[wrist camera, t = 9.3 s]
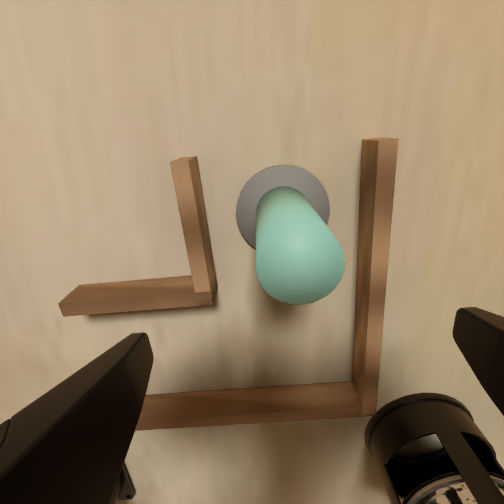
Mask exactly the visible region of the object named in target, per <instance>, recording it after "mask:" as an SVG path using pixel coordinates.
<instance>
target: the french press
mask: <svg viewBox="0 0 504 504" xmlns="http://www.w3.org/2000/svg"><path fill="white" fill-rule="evenodd" d="M432 434H436V435H437V437H438V438H439V440H440V442H441V444H442V445H443V447H444V450H443V451H441V452H439V453H437V454H435V455H432V456H430V457H426V458H421V459H403V458H398V457H395V456H393V454H394V453H395V452H396V451H398V450H399V449H400V448H402V447H403V446H404V445H406V444H408V443H410V442H412V441H413V440H416V439H419V438H421V437H424V436H428V435H432ZM365 437H366V444H367V446H368V449H369V451H370V453H371V454H372V456H373V457H374V459H375V461H376V464H377V467H378V469H379V472H380V475H381V478H382V480H383V483H384V486H385V488H386V491H387V494H388V496H389V499H390V502H391V504H401V501H400V499H399V498H401V499H404V502H403V503H402V504H504V470H503V468H502V467H501V465H500V464H499V463H498V461H497V460H496V453H495V451H494V449H493V447H492V445H491V444H490V443H489V441H488V440H487V439H486V437H485V436H484V435H483V433H482V432H481V431H480V429H479V428H478V427H477V425H476V424H475V423H474V420H473V417H472V415H471V413H470V412H469V410H468V409H467V408H466V407H465V406H464V405H463V404H462V403H461V402H459V401H458V400H456V399H454V398H452V397H449V396H447V395H442V394H437V393H420V394H413V395H409V396H405V397H402V398H399V399H397V400H395V401H392V402H391V403H389V404H387V405H386V406H384V407H383V408H381V409H380V410H379V411H378V412H377V413H376V414H375V416H373V417H372V419H371V420H370V422H369V424H368V426H367V429H366V433H365Z"/></svg>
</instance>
